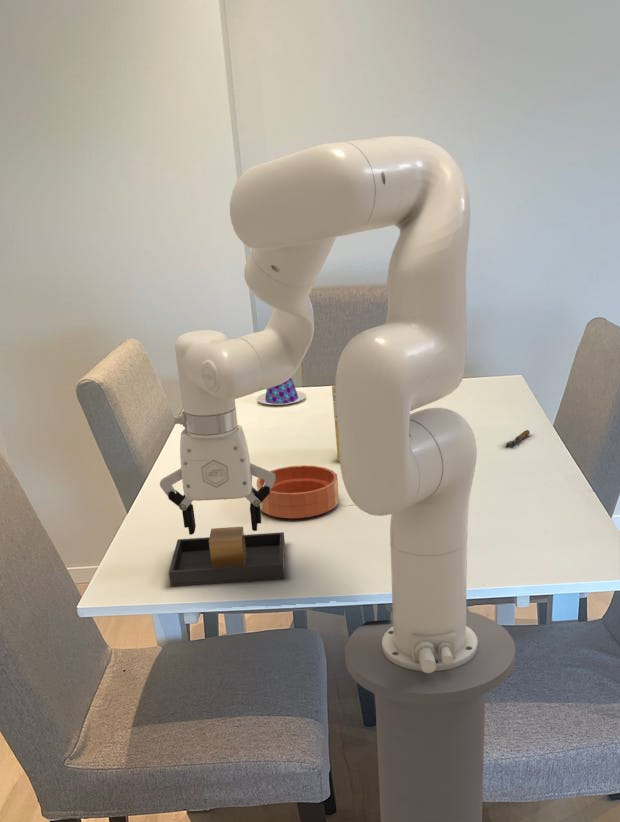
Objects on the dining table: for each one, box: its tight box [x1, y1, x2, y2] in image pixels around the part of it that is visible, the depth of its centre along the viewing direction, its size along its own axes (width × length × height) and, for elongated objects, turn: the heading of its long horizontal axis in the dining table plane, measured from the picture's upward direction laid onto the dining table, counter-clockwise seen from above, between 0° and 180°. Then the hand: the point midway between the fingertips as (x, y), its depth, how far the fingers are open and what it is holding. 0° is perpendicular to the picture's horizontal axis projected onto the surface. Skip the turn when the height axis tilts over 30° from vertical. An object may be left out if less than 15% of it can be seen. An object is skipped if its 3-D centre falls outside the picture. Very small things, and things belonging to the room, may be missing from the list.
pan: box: [168, 531, 286, 587], centre depth 145 cm, size 12×17×2 cm
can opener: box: [505, 429, 531, 447], centre depth 189 cm, size 9×2×1 cm, turn 140°
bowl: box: [256, 464, 340, 519], centre depth 165 cm, size 14×14×5 cm
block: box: [209, 526, 246, 568], centre depth 144 cm, size 5×5×5 cm
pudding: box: [256, 377, 307, 406], centre depth 224 cm, size 12×12×5 cm
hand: (223, 529), depth 143 cm, fingers open, 9 cm apart
